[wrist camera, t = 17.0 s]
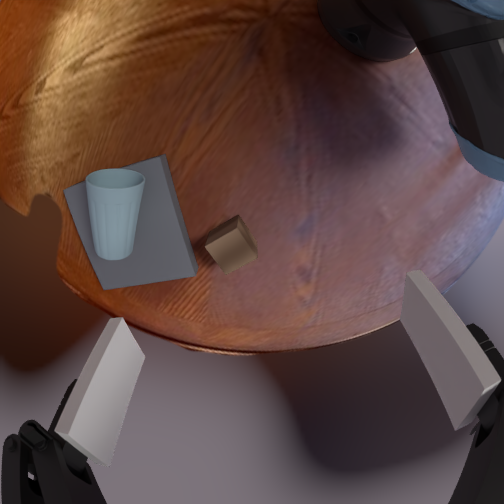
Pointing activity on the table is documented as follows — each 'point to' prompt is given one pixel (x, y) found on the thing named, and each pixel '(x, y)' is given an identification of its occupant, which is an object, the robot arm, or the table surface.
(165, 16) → the table surface
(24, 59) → the table surface
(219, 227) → the walnut block
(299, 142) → the table surface
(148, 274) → the plinth
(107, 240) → the cup
